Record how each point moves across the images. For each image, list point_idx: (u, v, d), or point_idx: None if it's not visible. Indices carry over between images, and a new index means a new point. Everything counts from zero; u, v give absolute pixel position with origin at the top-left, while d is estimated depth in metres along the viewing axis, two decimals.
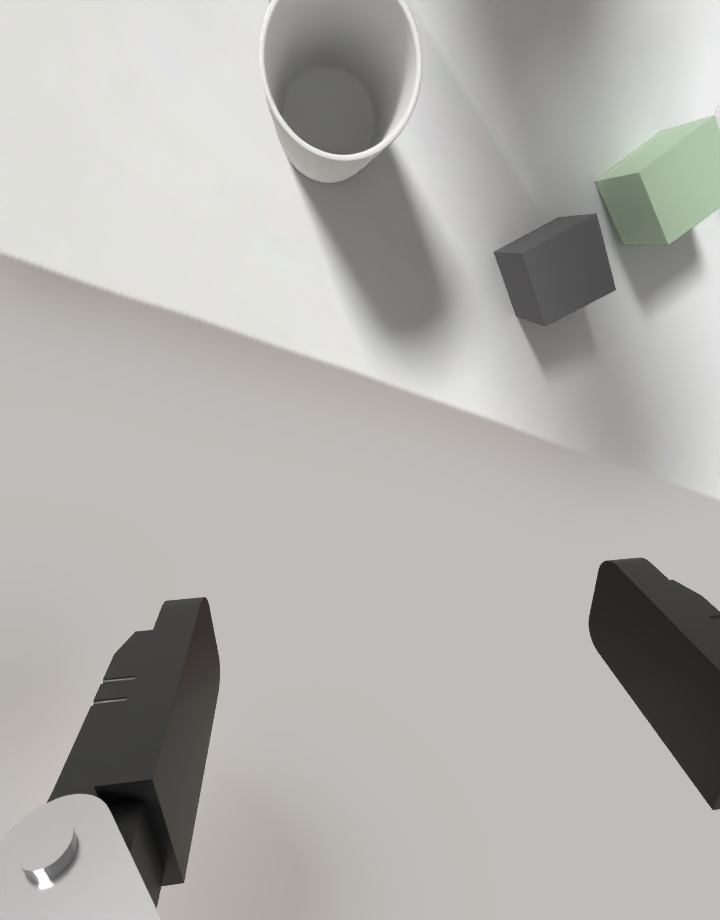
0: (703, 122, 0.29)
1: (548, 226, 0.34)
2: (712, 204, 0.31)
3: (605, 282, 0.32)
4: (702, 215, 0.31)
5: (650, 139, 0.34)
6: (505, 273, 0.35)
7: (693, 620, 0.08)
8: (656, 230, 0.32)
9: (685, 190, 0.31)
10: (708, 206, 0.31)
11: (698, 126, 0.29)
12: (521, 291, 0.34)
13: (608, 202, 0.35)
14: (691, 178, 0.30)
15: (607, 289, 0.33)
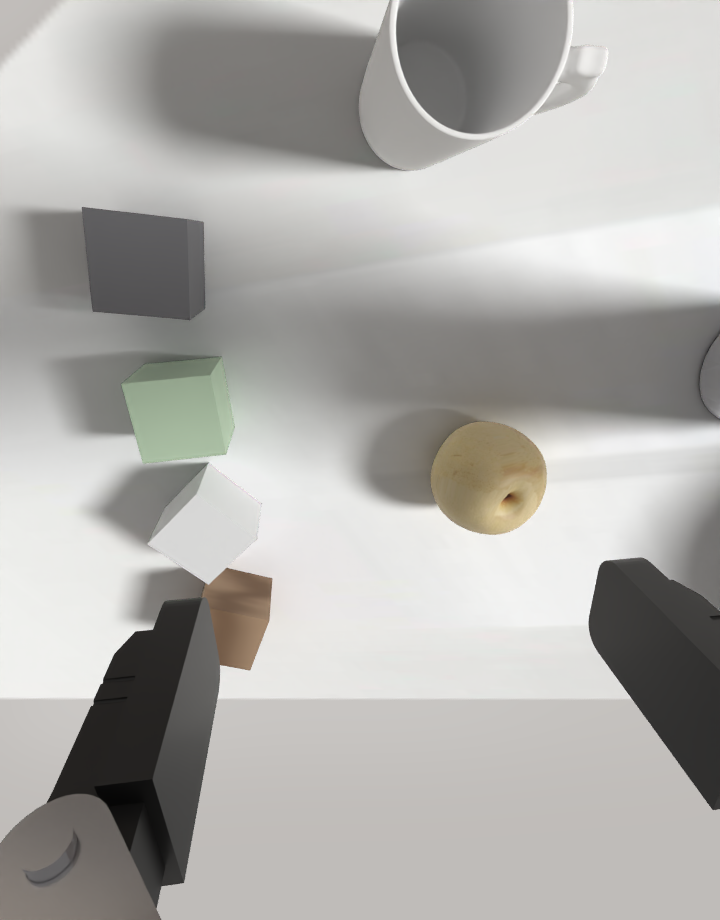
0: (224, 444, 0.31)
1: (201, 287, 0.30)
2: (143, 436, 0.30)
3: (107, 302, 0.26)
4: (136, 424, 0.29)
5: (232, 416, 0.35)
6: None
7: (693, 620, 0.08)
8: (143, 379, 0.29)
9: (170, 414, 0.29)
10: (143, 431, 0.30)
11: (223, 439, 0.30)
12: None
13: (195, 360, 0.32)
14: (179, 422, 0.30)
15: (97, 301, 0.26)
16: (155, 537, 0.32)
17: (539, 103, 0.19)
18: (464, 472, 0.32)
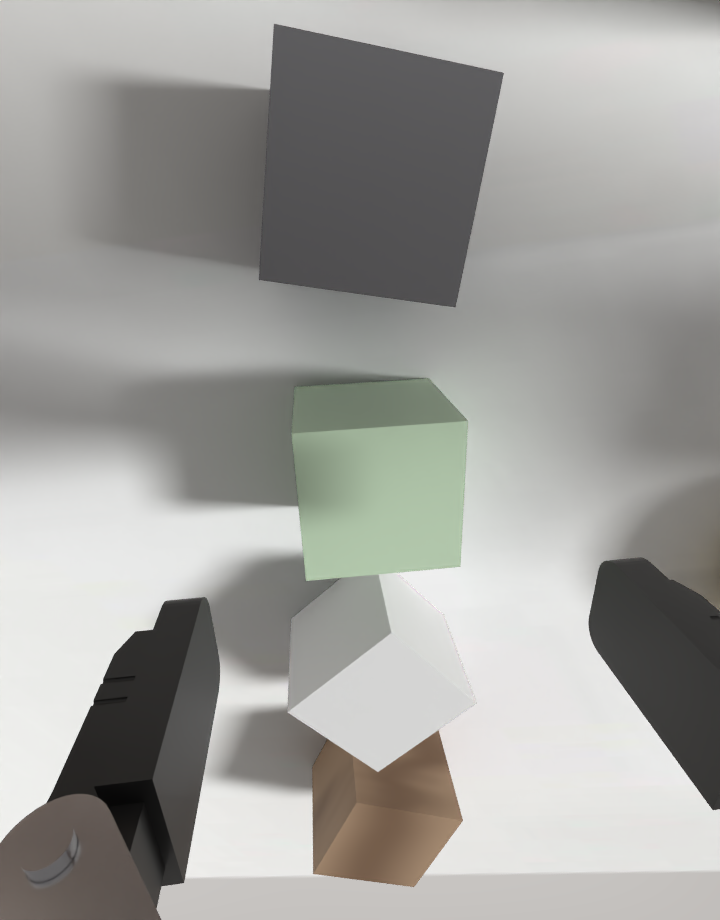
0: None
1: None
2: (316, 532, 0.15)
3: (293, 261, 0.12)
4: (308, 511, 0.15)
5: None
6: None
7: (693, 620, 0.08)
8: (329, 423, 0.14)
9: (374, 493, 0.15)
10: (317, 524, 0.15)
11: (460, 539, 0.16)
12: None
13: (387, 384, 0.18)
14: (388, 508, 0.15)
15: (272, 259, 0.12)
16: (303, 701, 0.18)
17: None
18: None
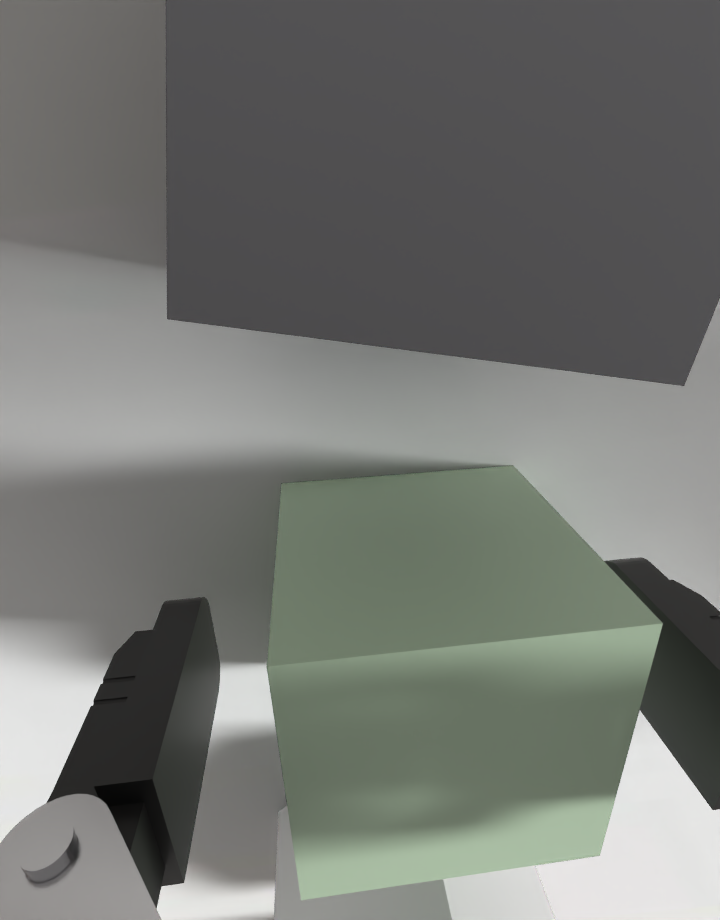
0: None
1: None
2: (323, 829, 0.07)
3: (263, 267, 0.04)
4: (305, 797, 0.07)
5: None
6: None
7: (693, 620, 0.08)
8: (353, 624, 0.07)
9: (447, 759, 0.07)
10: (325, 816, 0.07)
11: None
12: None
13: (445, 481, 0.10)
14: (473, 780, 0.07)
15: (203, 260, 0.04)
16: None
17: None
18: None
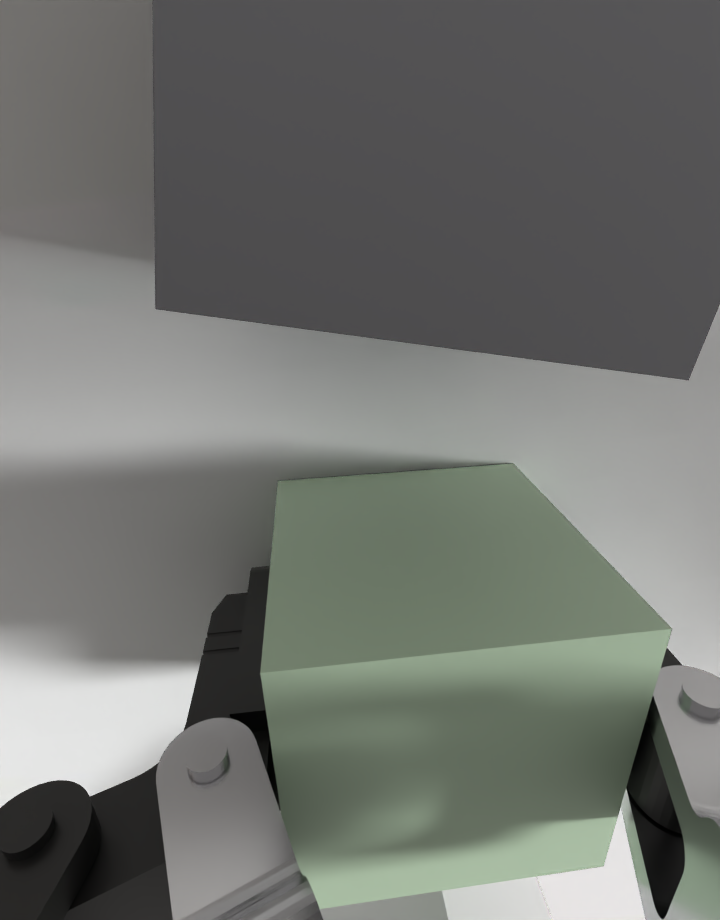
0: None
1: None
2: (319, 840, 0.07)
3: (256, 255, 0.04)
4: (300, 808, 0.07)
5: None
6: None
7: None
8: (352, 629, 0.06)
9: (447, 768, 0.07)
10: (321, 827, 0.07)
11: None
12: None
13: (445, 481, 0.10)
14: (474, 790, 0.07)
15: (192, 247, 0.04)
16: None
17: None
18: None
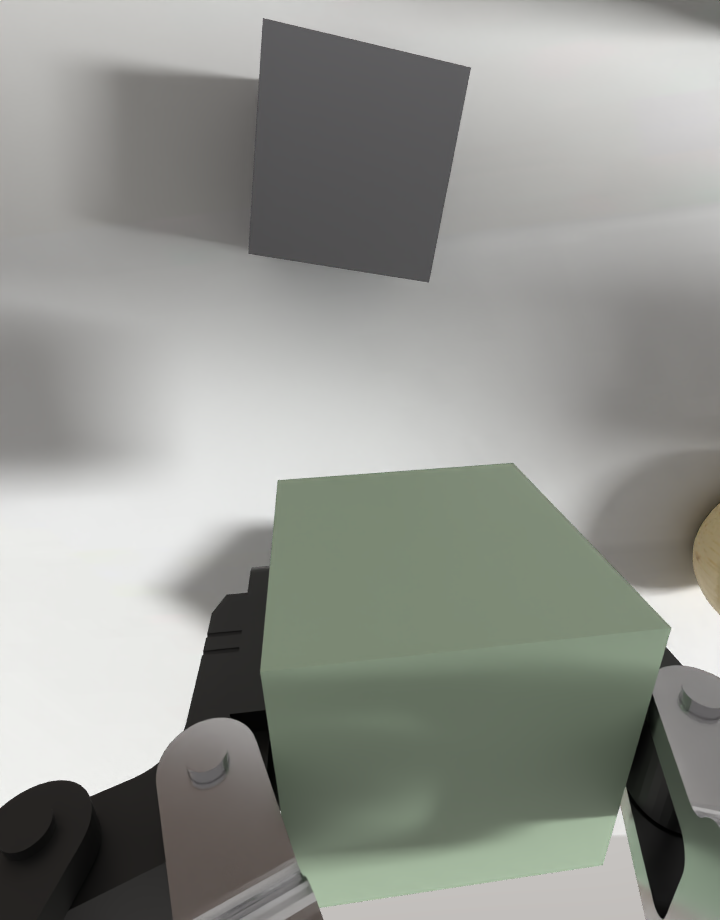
0: None
1: None
2: (319, 839, 0.07)
3: (279, 236, 0.13)
4: (300, 807, 0.07)
5: None
6: None
7: None
8: (351, 627, 0.06)
9: (447, 767, 0.07)
10: (320, 825, 0.07)
11: None
12: None
13: (445, 480, 0.10)
14: (473, 789, 0.07)
15: (260, 234, 0.13)
16: None
17: None
18: None
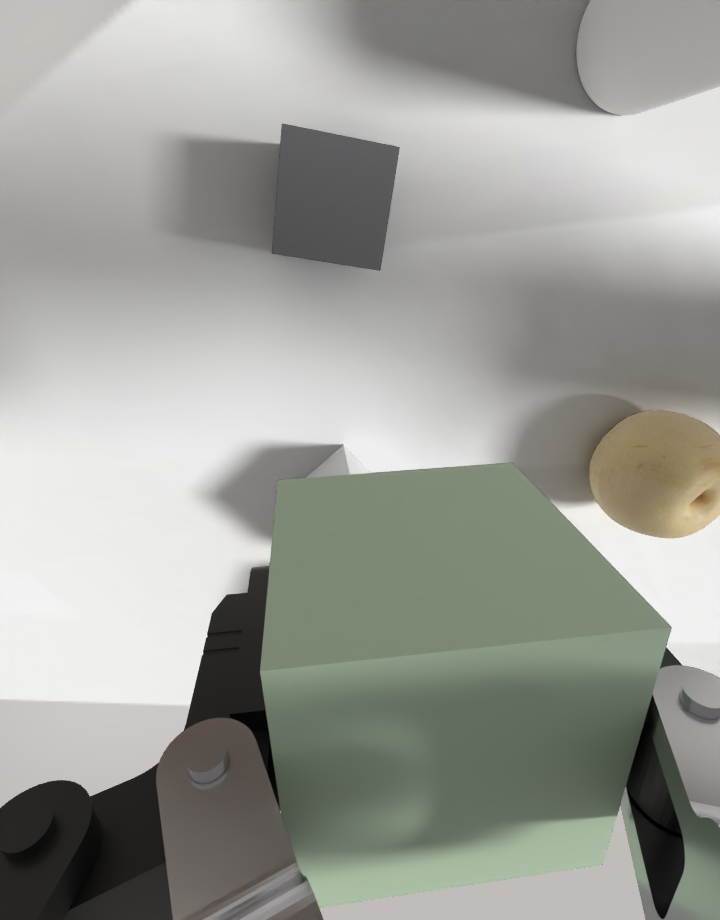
0: None
1: None
2: (319, 839, 0.07)
3: (290, 243, 0.22)
4: (300, 806, 0.07)
5: None
6: None
7: None
8: (351, 627, 0.06)
9: (447, 767, 0.07)
10: (320, 825, 0.07)
11: None
12: None
13: (445, 480, 0.10)
14: (474, 789, 0.07)
15: (279, 242, 0.22)
16: None
17: None
18: (653, 465, 0.28)
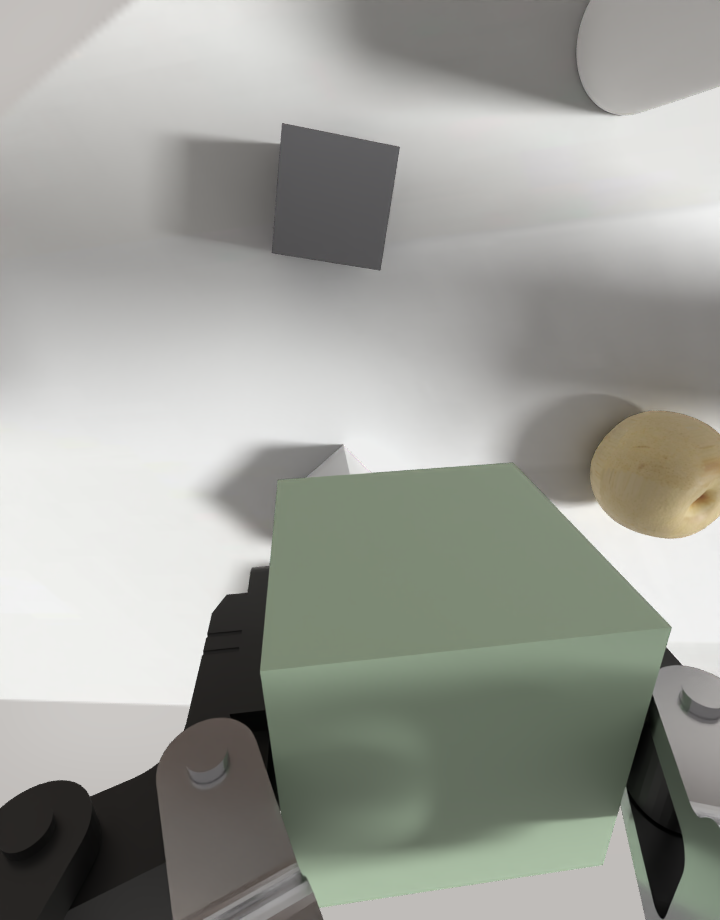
0: None
1: None
2: (319, 839, 0.07)
3: (290, 243, 0.22)
4: (300, 806, 0.07)
5: None
6: None
7: None
8: (351, 627, 0.06)
9: (447, 767, 0.07)
10: (320, 825, 0.07)
11: None
12: None
13: (445, 480, 0.10)
14: (474, 789, 0.07)
15: (279, 241, 0.22)
16: None
17: None
18: (654, 465, 0.28)
